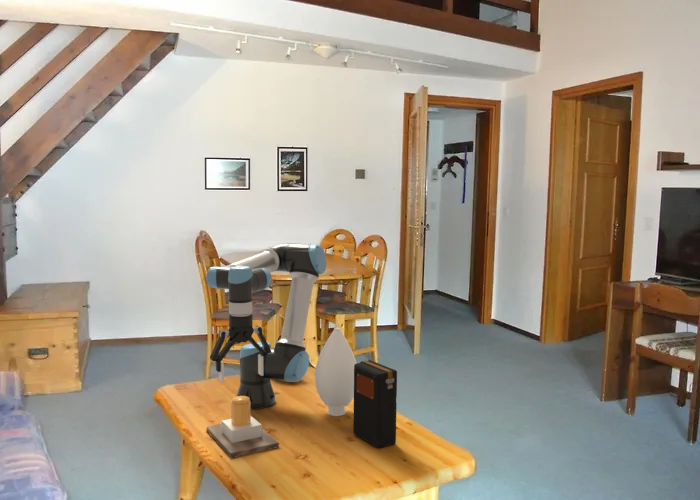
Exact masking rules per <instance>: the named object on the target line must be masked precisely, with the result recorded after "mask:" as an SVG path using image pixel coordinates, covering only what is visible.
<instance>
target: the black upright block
mask: <svg viewBox="0 0 700 500" xmlns="http://www.w3.org/2000/svg"><path fill="white" fill-rule="evenodd" d="M397 390H398V371H397V370H396V369H394V368H391V367H389V366H386V365H383V364H380V363H379V362H377V361H374V360H371V359H370V360H369V359H368V360H361V361H360V362H357V363H356V364H355V365H354V397H353V424H352V426H353V429H352V430H353V431H352V432H353V434H354V435H355V436H356V437H359V438H360V439H363V440H364V441H366V442H368V443H369V444H370V445H373V446H374V447H376V448H379V449H380V448H383V447H386V446H390V445H392V446H393V445H396V443H397V442H396V441H397V397H398V396H397V395H398V393H397V392H398V391H397Z"/></svg>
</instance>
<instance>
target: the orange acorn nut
mask: <svg viewBox="0 0 700 500" xmlns="http://www.w3.org/2000/svg"><path fill="white" fill-rule="evenodd" d="M251 411H252V409H251V401H250V398H249V397H247V396H237V397H236V396H234V397H232V398H231V402H230V412H231V413H230V414H231V415H230V416H231V417H230V419H231V423H232V424H233V425H235V426H244V425H248V424H249V423H250V422H251V416H252V415H251Z"/></svg>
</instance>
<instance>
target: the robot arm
mask: <svg viewBox="0 0 700 500" xmlns="http://www.w3.org/2000/svg"><path fill="white" fill-rule="evenodd" d="M326 268H327V256H326V252H325V249H324V248H323V247H322V246H321V245H319V244H314V243H293V242H292V243H291V242H285V243H279V244H275V245H272V246H269V247H266V248H264V249H261V251H259V253H257V254H256V255H253V256H250V257H247V258H245V259H241V260H239V261H236V262H233V263H230V264H227V265H225V266H219V265H218V266H210V268H208V270H207V272H206V275H205V278H206V279H205V280H206V281H205V282H206V285H208V287H210V288H214V289H218V290H228V313H229V316H228V330H222V329H221V330H219V333H218V334H219V335H218V338H217V341H216V342H215V345H214V347H213V349H212V351H211V353H210V356H209V359H210V360H211V361H212V362H215V370H216V372H217V373H218V381H220V382H221V383H224V382H225V374H224V373H225V366H224V361H223V359H224V358H225V357H226V356H227V354H228V353H229V352H230V350H231V349H232V347H233V346H234V345H235V344H241V343H247V342H249V343H247V344H244V345H243V346H242V347H241V348H240V350H239V352H240V353H239V378H240V379H239V386H238V389H237V392H236V395H235V397H237V396H247V397H249V398H250V401H251V410H258V409H259V410H260V409H265V408H267V407H272V405H274V404H275V403H276V395H275V392H274V389H273V386H272V382H271V380H275V381H277V380H278V381H284V382H287V383H289V382H290V383H291V382H292V383H296V382H300V381H301V380H302V379H303V378H304V377H305V376H306V374H307V372H308V368H309V365H310V355H309V353H308V352H307V351H306V348H307V347H306V346H305V344H304V339H305V338H304V337H305V331H306V326H307V322H308V321H307V319H308V316H309V309H310V304H311V298H312V293H313V288H314V283H315V282H317V281H319V278H320V277H319V276H320V275H323V274H324V273H325V272H326ZM274 272H286V273H287V272H288V273H289V274H288V275H289V276H290V278H291V282H290V288H289V289H290V290H289V294H288V299H287V304H286V309H285V313H284V320H283V325H282V330H281V336H280V339H279V340H277V341H276V342H275V345H274V347H272V344H271V343H270V342H269V341H267V340H266V338H265V336H264V334H263V328H262V327H261V326H259V325H256V326H255V327H254V326H253V314H252V313H253V294H254V293H257V292H262V291H264V290H266V289H268V288H269V287H270V286H271V284H272V282H273V277H272V274H271V273H274ZM254 333H255V334H256V335H257V337H258V340H259V341H256V340H255V339H254V337H252V335H253V334H254ZM228 336H229V338H228V339H227V342H226V343H225V344H224V342H225V340H226V338H227V337H228ZM223 344H224V346H223Z"/></svg>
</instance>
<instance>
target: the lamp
mask: <svg viewBox="0 0 700 500" xmlns="http://www.w3.org/2000/svg"><path fill="white" fill-rule="evenodd" d="M356 363H358V362H357V360H356V356H355V355H354V352H353V350H352V347H351V345H350V344H349V342H348V340H347V339H346V337H345V335H344V333H343V332H342V328H340V327H339V320H338V319H337V320H336V327H334V328H333V331H332V332H331V333H330V335H329V337H328V338H327V340H326V341H325V344H324V346H323V347H322V349H321V351H320V354H319V356H318V358H317V362H316V366H315V371H314V382H315V387H316V388H315V389H316V391H317V394H318V396H319V398H320V400H321V401H322V402H323V404H324V405H325V406H326V407H328V408H327V412H326V413H327V414H328V415H329V416H332V417H340V416H344V415H346V408H345V407H347V406H349V404H350V403H351V402H352V401H353V400H354V365H355V364H356Z"/></svg>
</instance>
